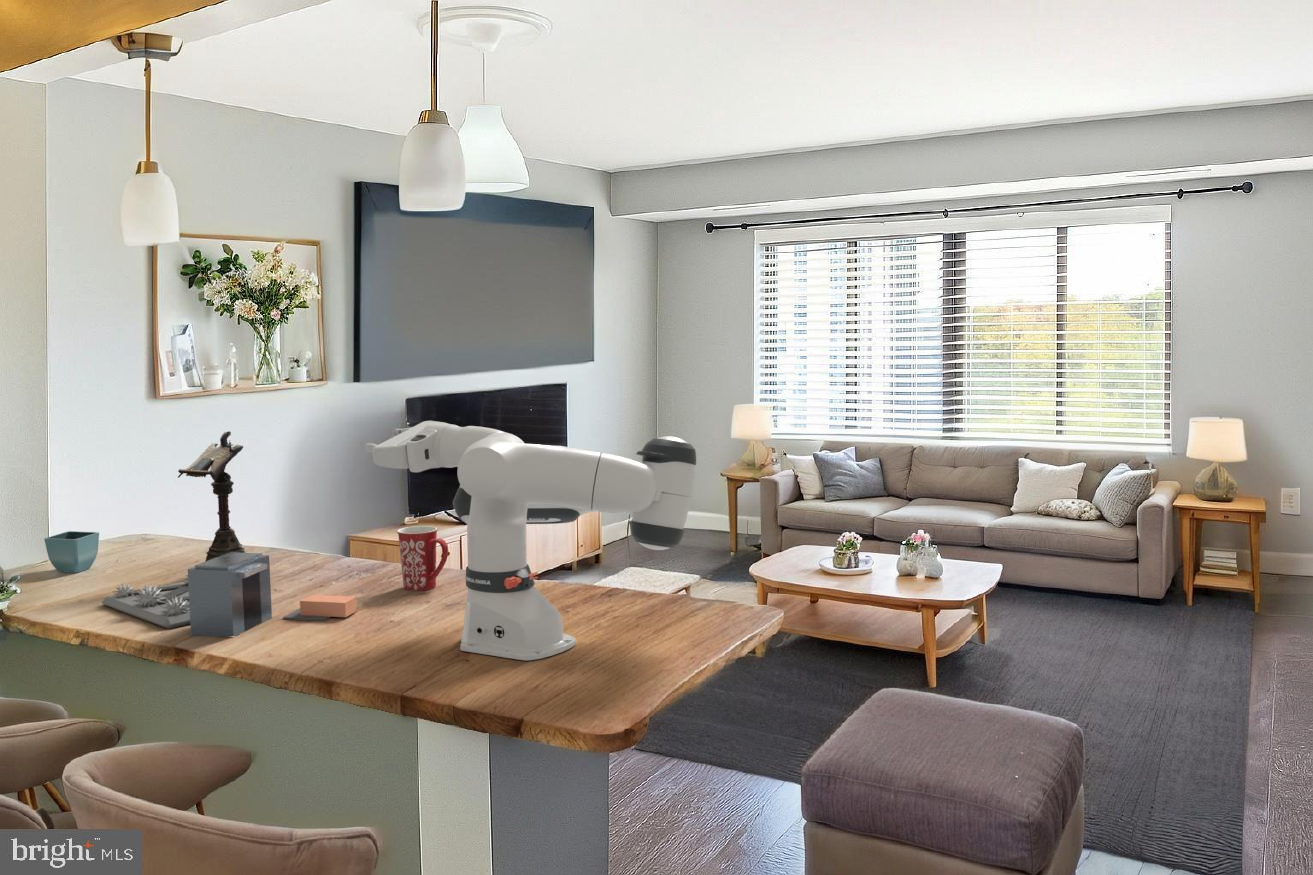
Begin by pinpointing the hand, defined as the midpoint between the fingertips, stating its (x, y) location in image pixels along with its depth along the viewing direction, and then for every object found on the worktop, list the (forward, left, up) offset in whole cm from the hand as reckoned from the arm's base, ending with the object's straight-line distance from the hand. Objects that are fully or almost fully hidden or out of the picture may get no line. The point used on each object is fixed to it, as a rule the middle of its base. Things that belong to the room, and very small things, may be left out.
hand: (380, 440), depth 220 cm
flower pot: (+90, +23, -36) cm, 100 cm away
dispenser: (+14, +27, -36) cm, 47 cm away
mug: (+6, -16, -36) cm, 40 cm away
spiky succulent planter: (+36, +25, -37) cm, 57 cm away
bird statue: (+55, +5, -36) cm, 66 cm away
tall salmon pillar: (+10, +13, -34) cm, 38 cm away
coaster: (+8, +12, -36) cm, 39 cm away
